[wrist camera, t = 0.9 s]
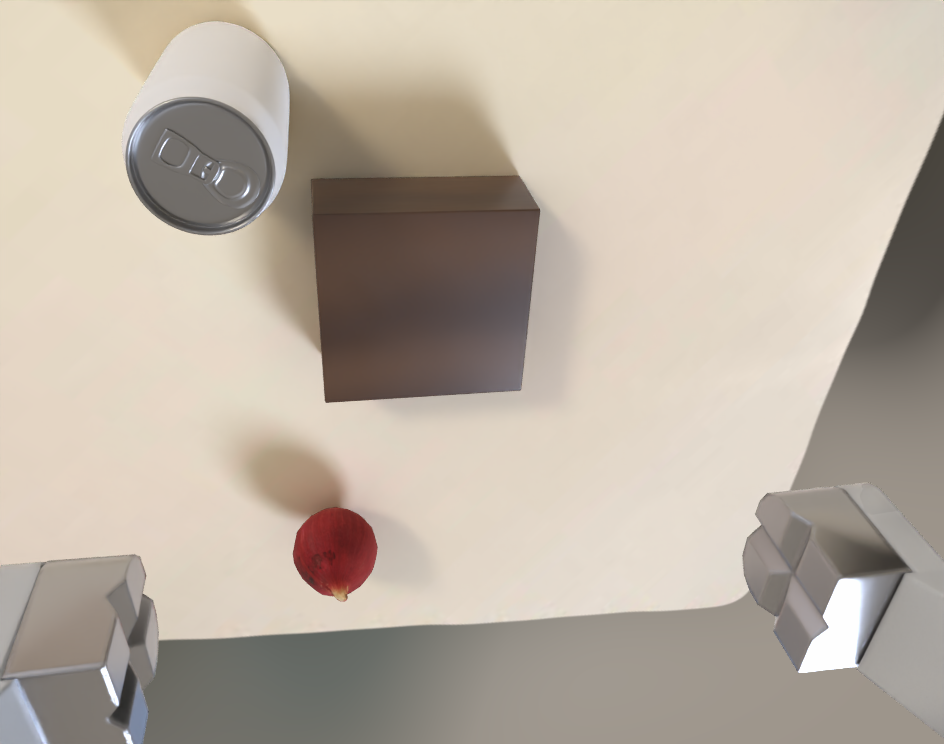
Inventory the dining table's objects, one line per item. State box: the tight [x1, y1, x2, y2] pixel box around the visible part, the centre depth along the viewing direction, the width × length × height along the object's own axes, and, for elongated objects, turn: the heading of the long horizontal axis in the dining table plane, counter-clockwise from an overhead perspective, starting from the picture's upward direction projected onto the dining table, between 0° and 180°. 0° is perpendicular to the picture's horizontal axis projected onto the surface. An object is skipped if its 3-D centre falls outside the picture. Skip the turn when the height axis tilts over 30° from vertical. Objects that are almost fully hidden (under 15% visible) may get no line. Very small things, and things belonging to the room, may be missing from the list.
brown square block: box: [311, 176, 540, 403], centre depth 47 cm, size 12×12×5 cm
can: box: [122, 21, 290, 235], centre depth 36 cm, size 6×6×12 cm
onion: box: [293, 507, 378, 601], centre depth 56 cm, size 6×6×8 cm
